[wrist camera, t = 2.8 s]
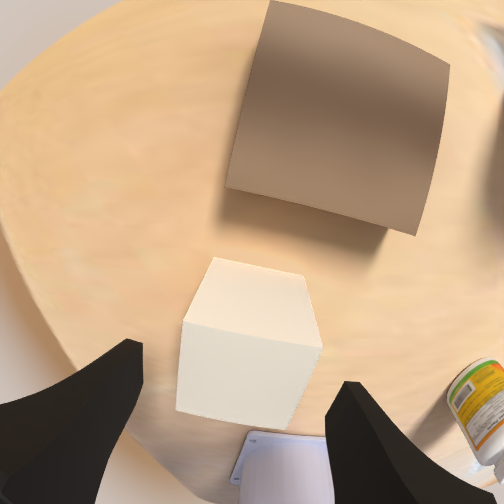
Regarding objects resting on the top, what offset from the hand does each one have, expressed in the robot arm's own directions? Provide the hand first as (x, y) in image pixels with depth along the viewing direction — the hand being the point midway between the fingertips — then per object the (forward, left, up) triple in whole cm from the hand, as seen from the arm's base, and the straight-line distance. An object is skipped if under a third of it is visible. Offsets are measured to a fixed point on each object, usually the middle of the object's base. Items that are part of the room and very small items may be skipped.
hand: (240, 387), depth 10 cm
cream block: (0, 0, -6) cm, 6 cm away
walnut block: (+10, -2, -7) cm, 12 cm away
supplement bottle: (-4, -19, -6) cm, 20 cm away
